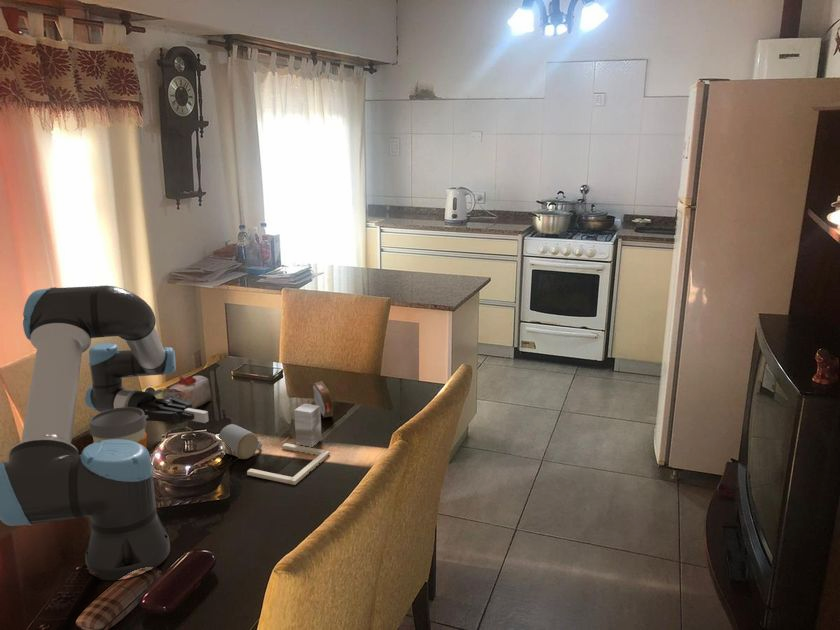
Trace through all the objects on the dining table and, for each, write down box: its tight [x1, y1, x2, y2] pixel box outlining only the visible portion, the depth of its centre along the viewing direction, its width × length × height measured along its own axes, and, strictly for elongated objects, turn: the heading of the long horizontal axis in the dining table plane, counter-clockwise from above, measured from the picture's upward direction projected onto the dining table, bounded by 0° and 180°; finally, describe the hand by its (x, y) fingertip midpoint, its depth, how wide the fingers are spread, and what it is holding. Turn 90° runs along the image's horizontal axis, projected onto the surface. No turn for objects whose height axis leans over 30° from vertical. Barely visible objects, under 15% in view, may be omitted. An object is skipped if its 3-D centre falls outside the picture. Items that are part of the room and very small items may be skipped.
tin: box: [312, 380, 334, 418], centre depth 201 cm, size 15×3×8 cm, turn 22°
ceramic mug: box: [217, 423, 263, 460], centre depth 174 cm, size 11×8×8 cm
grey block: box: [293, 403, 323, 448], centre depth 180 cm, size 5×5×10 cm
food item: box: [163, 375, 213, 409], centre depth 204 cm, size 14×8×10 cm, turn 160°
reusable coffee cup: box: [89, 407, 148, 449], centre depth 163 cm, size 13×13×15 cm
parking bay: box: [246, 442, 331, 486], centre depth 169 cm, size 17×14×1 cm
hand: (206, 417), depth 176 cm, fingers closed
